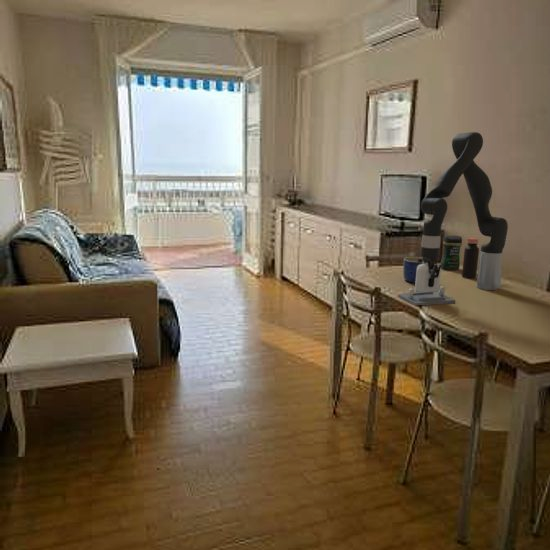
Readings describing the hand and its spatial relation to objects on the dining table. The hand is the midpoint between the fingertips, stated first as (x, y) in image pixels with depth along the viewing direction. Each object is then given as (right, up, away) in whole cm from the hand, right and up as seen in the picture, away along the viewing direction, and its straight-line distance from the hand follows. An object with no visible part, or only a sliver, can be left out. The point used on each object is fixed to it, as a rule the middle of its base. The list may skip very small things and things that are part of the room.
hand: (427, 285), depth 205 cm
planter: (+5, +1, +33) cm, 33 cm away
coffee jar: (+31, +7, +59) cm, 67 cm away
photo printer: (0, -3, +1) cm, 3 cm away
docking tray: (0, -6, +1) cm, 7 cm away
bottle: (+34, +3, +41) cm, 54 cm away
